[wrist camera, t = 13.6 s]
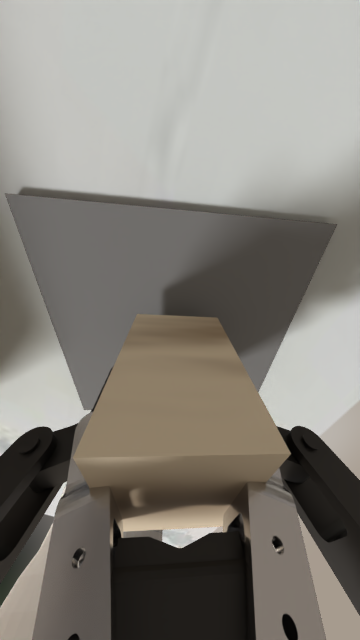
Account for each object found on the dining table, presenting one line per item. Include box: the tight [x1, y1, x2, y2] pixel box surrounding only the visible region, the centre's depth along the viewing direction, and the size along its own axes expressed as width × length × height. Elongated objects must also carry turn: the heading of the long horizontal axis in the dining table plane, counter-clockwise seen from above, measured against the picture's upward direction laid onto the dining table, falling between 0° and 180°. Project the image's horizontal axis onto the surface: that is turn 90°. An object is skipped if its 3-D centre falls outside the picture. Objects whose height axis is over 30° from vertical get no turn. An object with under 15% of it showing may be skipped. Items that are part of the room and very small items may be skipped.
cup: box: [0, 486, 79, 640], centre depth 22 cm, size 11×11×15 cm
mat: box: [5, 194, 337, 410], centre depth 13 cm, size 18×18×1 cm
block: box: [73, 314, 291, 532], centre depth 8 cm, size 7×5×7 cm
